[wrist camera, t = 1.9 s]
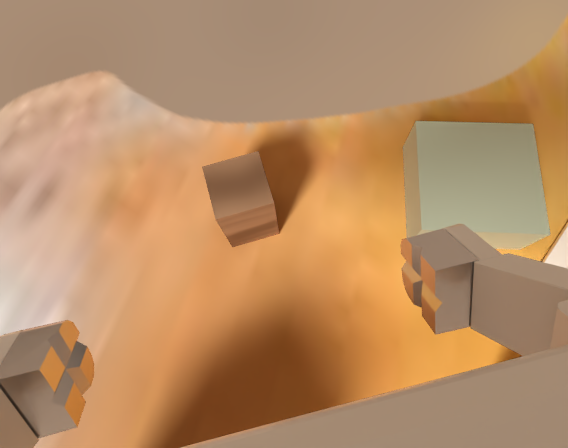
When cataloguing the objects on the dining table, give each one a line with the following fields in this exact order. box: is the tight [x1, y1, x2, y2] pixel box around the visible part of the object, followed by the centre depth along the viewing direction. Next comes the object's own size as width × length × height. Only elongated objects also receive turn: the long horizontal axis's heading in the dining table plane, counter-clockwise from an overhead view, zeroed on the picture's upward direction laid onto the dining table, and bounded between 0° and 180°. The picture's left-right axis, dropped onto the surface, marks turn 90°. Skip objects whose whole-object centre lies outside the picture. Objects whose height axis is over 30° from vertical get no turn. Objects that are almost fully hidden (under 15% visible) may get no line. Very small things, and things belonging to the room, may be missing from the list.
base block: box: [403, 121, 550, 250], centre depth 36 cm, size 10×10×5 cm
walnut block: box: [202, 151, 279, 247], centre depth 35 cm, size 4×4×8 cm
